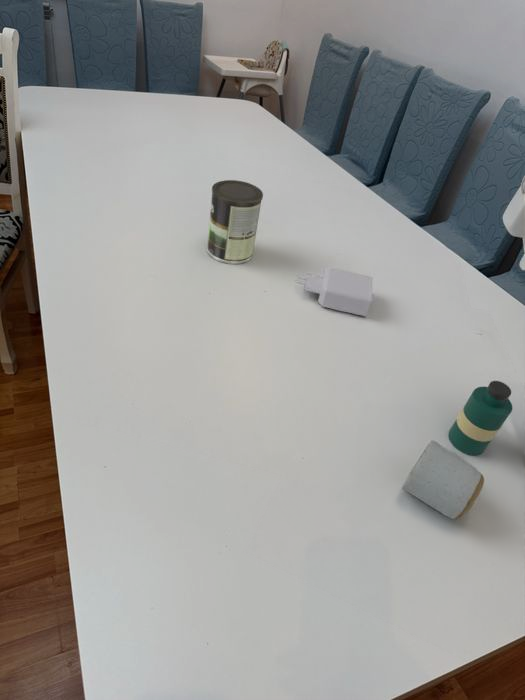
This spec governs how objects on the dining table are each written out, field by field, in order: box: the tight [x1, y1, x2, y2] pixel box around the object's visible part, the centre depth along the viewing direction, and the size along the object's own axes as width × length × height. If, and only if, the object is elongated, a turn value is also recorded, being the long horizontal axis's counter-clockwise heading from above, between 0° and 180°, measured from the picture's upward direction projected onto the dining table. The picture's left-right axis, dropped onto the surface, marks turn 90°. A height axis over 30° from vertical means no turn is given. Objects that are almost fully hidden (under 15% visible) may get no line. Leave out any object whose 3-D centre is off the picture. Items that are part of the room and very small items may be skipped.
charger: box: [295, 267, 373, 317], centre depth 99 cm, size 5×9×15 cm
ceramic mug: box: [401, 440, 485, 520], centre depth 66 cm, size 11×8×8 cm
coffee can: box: [206, 179, 264, 265], centre depth 104 cm, size 10×10×14 cm
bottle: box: [447, 380, 513, 456], centre depth 73 cm, size 6×6×12 cm
